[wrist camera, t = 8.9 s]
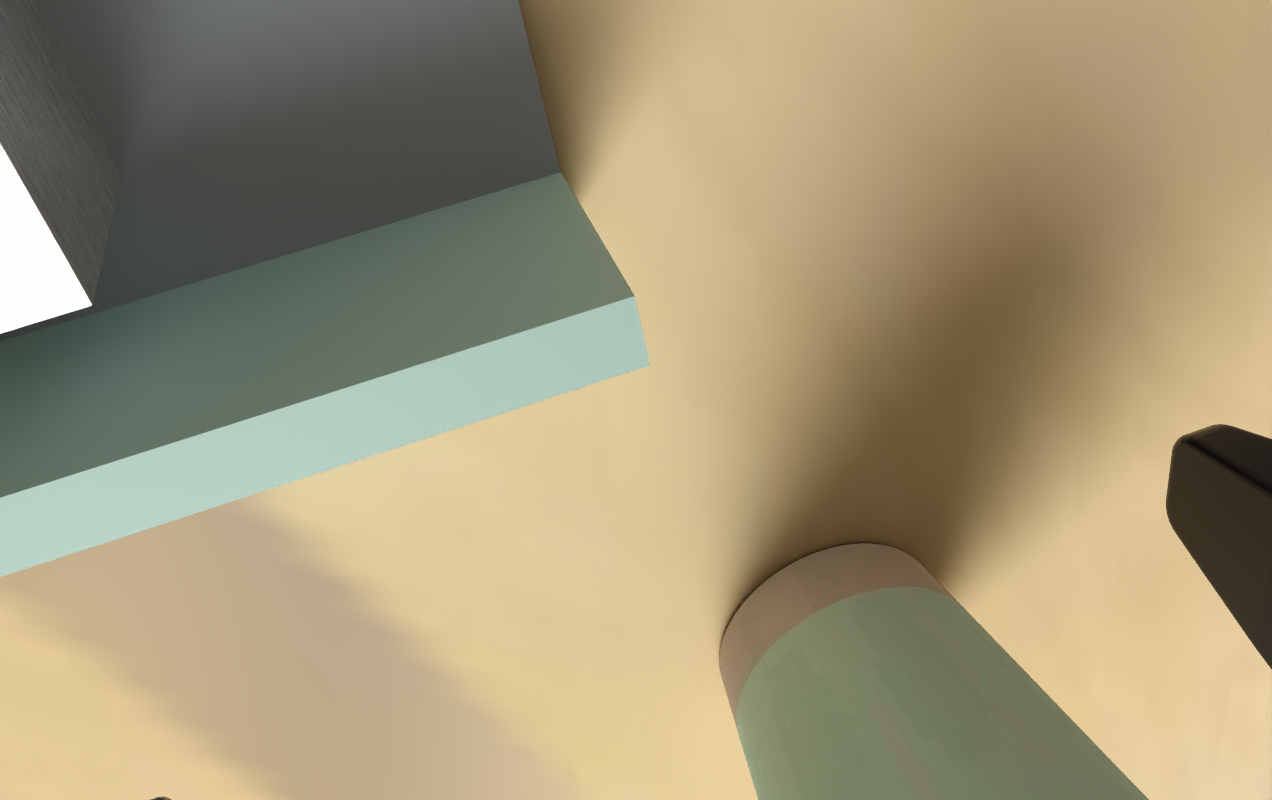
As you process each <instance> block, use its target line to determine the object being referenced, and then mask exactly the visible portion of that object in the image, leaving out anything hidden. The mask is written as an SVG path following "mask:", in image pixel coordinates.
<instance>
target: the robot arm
mask: <svg viewBox="0 0 1272 800" xmlns="http://www.w3.org/2000/svg"><path fill="white" fill-rule="evenodd" d="M1166 509H1167V515H1168V518H1169V521H1170V523H1171V525H1172V528H1173V529H1174V531H1175V533H1176V534H1177V536H1178V537H1179V538H1180V540H1181V541H1182V543H1183V544H1184V546H1185V547H1186V549H1187V550H1188V551H1189V553H1190V554H1191V556H1192V557H1193V559H1194V560H1195V561H1196V563H1197V564H1198V566H1199V567H1200V569H1201V570H1202V572H1203V573H1204V574H1205V576H1206V577H1207V579H1208V580H1209V582H1210V583H1211V584H1212V586H1213V587H1214V589H1215V590H1216V592H1217V593H1218V595H1219V596H1220V597H1221V599H1222V600H1223V602H1224V603H1225V605H1226V606H1227V607H1228V609H1229V610H1230V612H1231V613H1232V615H1233V616H1234V618H1235V619H1236V620H1237V622H1238V623H1239V625H1240V626H1241V628H1242V629H1243V630H1244V632H1245V633H1246V635H1247V636H1248V638H1249V639H1250V641H1251V642H1252V643H1253V645H1254V646H1255V648H1256V649H1257V650H1258V652H1259V653H1260V654H1261V656H1262V657H1263V658H1264V660H1265V661H1266V662H1267V664H1268V665H1269V666H1270V668H1271V669H1272V439H1270V438H1267V437H1264V436H1261V435H1258V434H1254V433H1251V432H1248V431H1245V430H1242V429H1239V428H1236V427H1233V426H1229V425H1223V424H1218V425H1212V426H1209V427H1206V428H1203V429H1201V430H1198V431H1195V432H1192V433H1189V434H1186V435H1184V436H1182V437H1180V438H1179V439H1178V440H1177V442H1176V443H1175V444H1174V446H1173V450H1172V457H1171V465H1170V473H1169V481H1168V489H1167V497H1166ZM151 800H171V799H169V798H167V797H157V798H154V799H151Z"/></svg>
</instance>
